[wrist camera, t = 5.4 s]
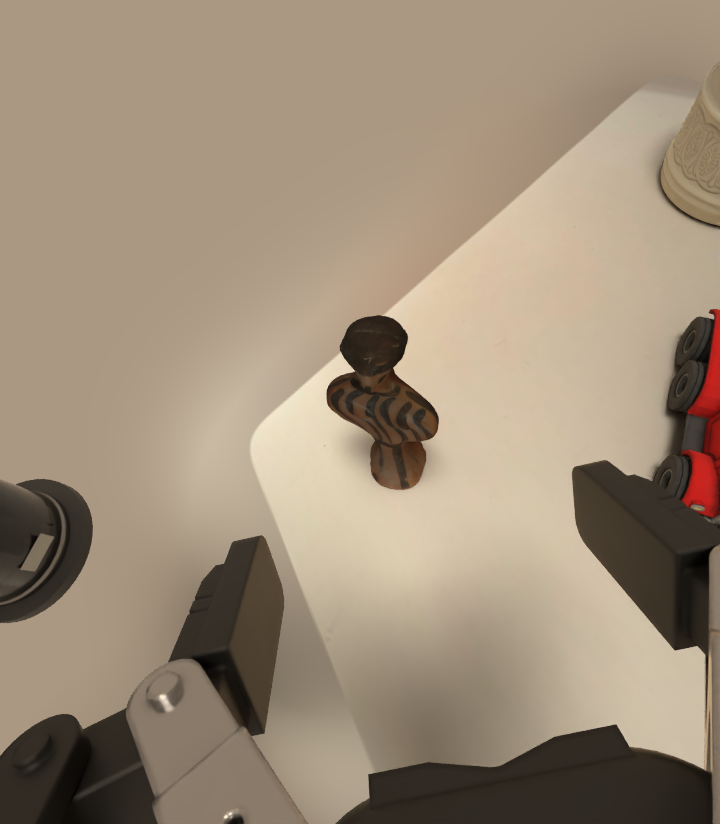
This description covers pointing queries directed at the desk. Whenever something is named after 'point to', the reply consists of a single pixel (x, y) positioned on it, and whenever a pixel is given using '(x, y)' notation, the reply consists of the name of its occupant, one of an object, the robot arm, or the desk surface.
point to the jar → (697, 156)
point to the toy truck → (697, 420)
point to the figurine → (383, 401)
